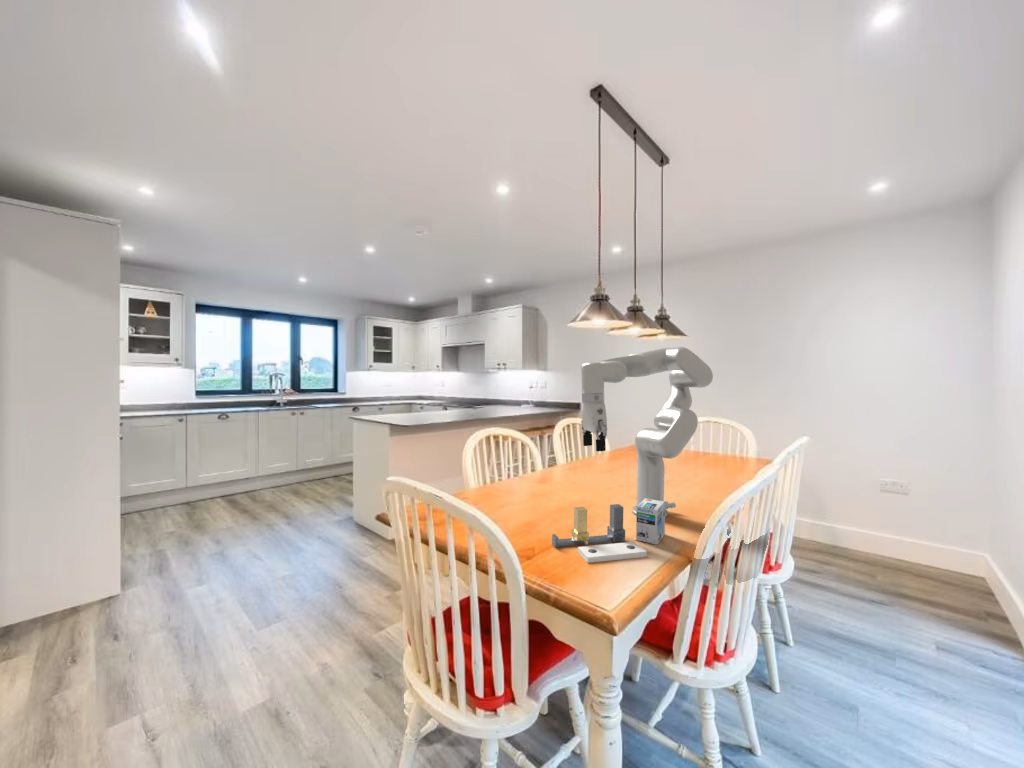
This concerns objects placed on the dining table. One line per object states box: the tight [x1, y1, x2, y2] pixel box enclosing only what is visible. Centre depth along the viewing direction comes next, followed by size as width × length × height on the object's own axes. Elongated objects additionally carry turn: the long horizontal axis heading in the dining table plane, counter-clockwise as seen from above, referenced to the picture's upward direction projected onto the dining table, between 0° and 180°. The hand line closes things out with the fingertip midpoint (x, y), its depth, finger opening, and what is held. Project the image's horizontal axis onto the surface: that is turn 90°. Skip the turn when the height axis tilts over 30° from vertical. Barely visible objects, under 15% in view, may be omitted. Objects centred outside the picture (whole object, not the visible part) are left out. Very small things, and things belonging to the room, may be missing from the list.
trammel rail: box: [551, 503, 626, 549], centre depth 128 cm, size 22×7×11 cm, turn 103°
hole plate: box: [577, 541, 647, 564], centre depth 122 cm, size 18×7×2 cm, turn 103°
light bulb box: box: [635, 498, 666, 546], centre depth 135 cm, size 11×7×11 cm, turn 148°
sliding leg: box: [571, 506, 590, 545], centre depth 128 cm, size 4×7×9 cm, turn 13°
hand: (594, 448), depth 145 cm, fingers open, 9 cm apart
